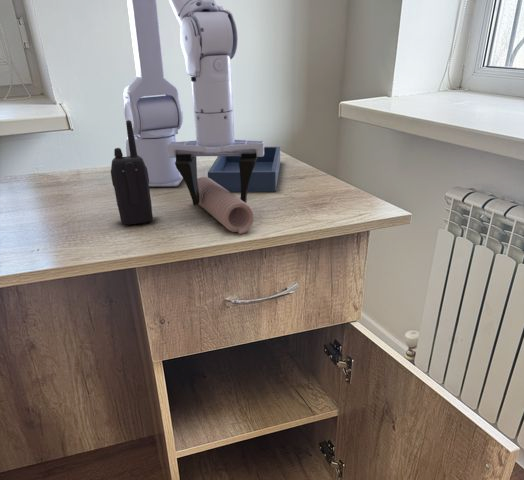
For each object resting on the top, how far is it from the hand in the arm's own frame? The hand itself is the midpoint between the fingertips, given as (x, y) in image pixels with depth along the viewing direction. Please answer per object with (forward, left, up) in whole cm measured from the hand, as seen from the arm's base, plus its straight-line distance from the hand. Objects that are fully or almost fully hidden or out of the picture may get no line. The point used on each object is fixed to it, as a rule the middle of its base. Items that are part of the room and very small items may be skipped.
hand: (220, 203), depth 80 cm
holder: (+2, +26, -2) cm, 26 cm away
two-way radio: (-13, -3, -2) cm, 14 cm away
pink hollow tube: (0, 0, -2) cm, 2 cm away
